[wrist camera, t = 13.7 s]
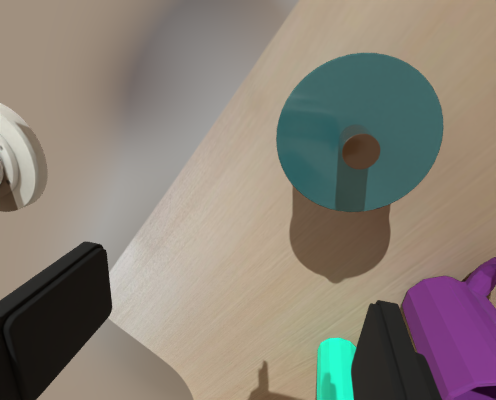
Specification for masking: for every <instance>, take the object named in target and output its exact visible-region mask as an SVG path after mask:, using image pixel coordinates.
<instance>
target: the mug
mask: <svg viewBox="0 0 496 400" xmlns="http://www.w3.org/2000/svg"><path fill="white" fill-rule="evenodd" d="M495 285H496V257H494V258H492V259H490V260H488V261H487V262H485V263H483V264H482V265H480V266H479V267H478V268H477V269H476V270H475V271H473V272H472V274H471V275H470V276H469V277H468V279H467V280H466V281H465V282H460V281H458V280H456V279H454V278H452V277H448V276H441V277H435V278H429V279H423V280H422V281H420V282H419V283H418V284H416V285H415V286H413V287H412V288H410V289H409V290H408V292H407V294H406V297H405V299H404V302H403V304H402V306H403V310H404V314H405V317H406V321H407V323H408V326H409V329H410V332H411V335H412V338H413V341H414V343H415V346H416V349H417V352H418V353H420V354H423V355H424V356H425V358H426V360H427V362H428V365H429V367H430V370H431V372H432V375H433V377H434V380H435V383H436V385H437V388H438V390H439V393H440V395H441V398H442V400H496V309H495V307H494V306H493V305H492V303H491V302H490V301H489V300H488V298H487V296H488V294H489V293H490V292H491V291H492V290H493V289H494V287H495Z"/></svg>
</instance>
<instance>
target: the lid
mask: <svg viewBox="0 0 496 400" xmlns="http://www.w3.org/2000/svg"><path fill="white" fill-rule="evenodd" d="M442 136H443V115H442V109H441V105H440V102H439V99H438V97H437V95H436V93H435V91H434V89H433V87H432V86H431V84H430V83H429V82H428V80H427V79H426V78H425V77H424V76H423V75H422V74H421V73H420V72H419V71H418V70H417V69H415V68H414V67H412V66H411V65H409V64H408V63H406V62H404V61H402V60H400V59H398V58H395V57H391V56H388V55H384V54H377V53H357V54H350V55H346V56H342V57H338V58H336V59H333V60H331V61H328V62H326V63H325V64H323V65H321V66H319V67H317V68H316V69H315V70H313V71H312V72H311V73H309V74H308V75H307V76H306V77H305V78H304V79H303V80H302V81H301V82H300V83H299V84H298V85H297V86H296V87H295V89H294V90H293V91H292V93H291V94H290V96H289V97H288V99H287V101H286V103H285V105H284V107H283V109H282V112H281V115H280V118H279V122H278V127H277V137H276V141H277V151H278V156H279V160H280V163H281V166H282V168H283V170H284V172H285V174H286V176H287V178H288V179H289V181H290V182H291V183H292V185H293V186H294V187H295V188H296V189H297V190H298V191H299V192H300V193H301V194H302V195H304V196H305V197H306V198H308V199H309V200H311V201H313V202H314V203H316V204H318V205H321V206H323V207H326V208H329V209H333V210H337V211H345V212H361V211H369V210H373V209H377V208H380V207H383V206H386V205H389V204H391V203H393V202H395V201H397V200H398V199H400V198H402V197H403V196H405V195H406V194H408V193H409V192H410V191H411V190H413V189H414V188H415V187H416V186H417V185H418V184H419V183H420V182H421V181H422V180H423V178H424V177H425V176H426V175H427V173H428V172H429V170H430V169H431V167H432V165H433V164H434V162H435V160H436V157H437V155H438V153H439V150H440V146H441V142H442Z"/></svg>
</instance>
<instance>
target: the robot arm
mask: <svg viewBox="0 0 496 400" xmlns="http://www.w3.org/2000/svg"><path fill="white" fill-rule="evenodd" d="M18 177H19V169H18V164H17V160H16V157H15V155H14V153H13V151H12V149H11V147H10V145H9V144H8V142H7V141H6V140H5V139H4V137H3V136H2V135H1V134H0V197H3V196H5V195H8V194H9V193H11V192H12V191H13V190H14V189H15V187H16V185H17V183H18ZM111 311H112V300H111V290H110V281H109V271H108V261H107V253H106V250H104V249H103V247H102V245H100V244H96V243H91V242H83V243H81V244H80V245H79V246H77V247H76V248H74V249H73V250H72V251H70V252H69V253H67V254H66V255H64V256H63V257H61V258H60V259H59V260H57V261H56V262H54V263H53V264H52V265H50V266H49V267H47V268H46V269H44V270H43V271H42V272H40V273H39V274H37V275H36V276H34V277H33V278H32V279H30V280H29V281H27V282H26V283H25V284H23V285H22V286H20V287H19V288H17V289H16V290H15V291H13V292H12V293H10V294H9V295H7V296H6V297H5V298H3V299H2V300H0V400H36V399H37V398H38V397H39V396H40V395H41V394H42V393H43V391H44V390H45V389H46V388H47V387H48V386H49V385H50V383H51V382H52V381H53V380H54V379H55V378H56V377H57V375H58V374H59V373H60V372H61V371H62V370H63V369H64V367H65V366H66V365H67V364H68V363H69V362H70V361H71V359H72V358H73V357H74V356H75V355H76V354H77V352H78V351H79V350H80V349H81V348H82V347H83V346H84V344H85V343H86V342H87V341H88V340H89V339H90V338H91V336H92V335H93V334H94V333H95V332H96V331H97V330H98V328H99V327H100V326H101V325H102V324H103V323H104V322H105V320H106V319H107V318H108V317H109V315H110V313H111ZM351 379H352V388H353V397H354V400H442V398H441V395H440V393H439V390H438V388H437V385H436V383H435V380H434V377H433V375H432V372H431V370H430V367H429V365H428V362H427V360H426V358H425V356H424V355H423V354H420V353H416V352H415V351H414V348H413V345H412V342H411V339H410V337H409V334H408V331H407V328H406V325H405V323H404V320H403V317H402V314H401V312H400V309H399V306H398V305H397V304H395V303H390V302H385V301H380V300H378V301H377V302H376V304H372V303H371V304H370V305H369V308H368V311H367V315H366V318H365V321H364V325H363V328H362V331H361V334H360V338H359V341H358V344H357V348H356V351H355V354H354V358H353V361H352V365H351Z"/></svg>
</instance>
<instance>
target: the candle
mask: <svg viewBox="0 0 496 400" xmlns="http://www.w3.org/2000/svg"><path fill="white" fill-rule="evenodd" d="M355 351H356V347H355V346H354V345H353V344H352V343H351V342H350V341H347V340H344V339H342V338H329V339H327V340H325V341H323V342H322V343H321V344H320V346H319V348H318V359H317V400H354V397H353V388H352V379H351V365H352V361H353V358H354V354H355Z"/></svg>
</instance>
